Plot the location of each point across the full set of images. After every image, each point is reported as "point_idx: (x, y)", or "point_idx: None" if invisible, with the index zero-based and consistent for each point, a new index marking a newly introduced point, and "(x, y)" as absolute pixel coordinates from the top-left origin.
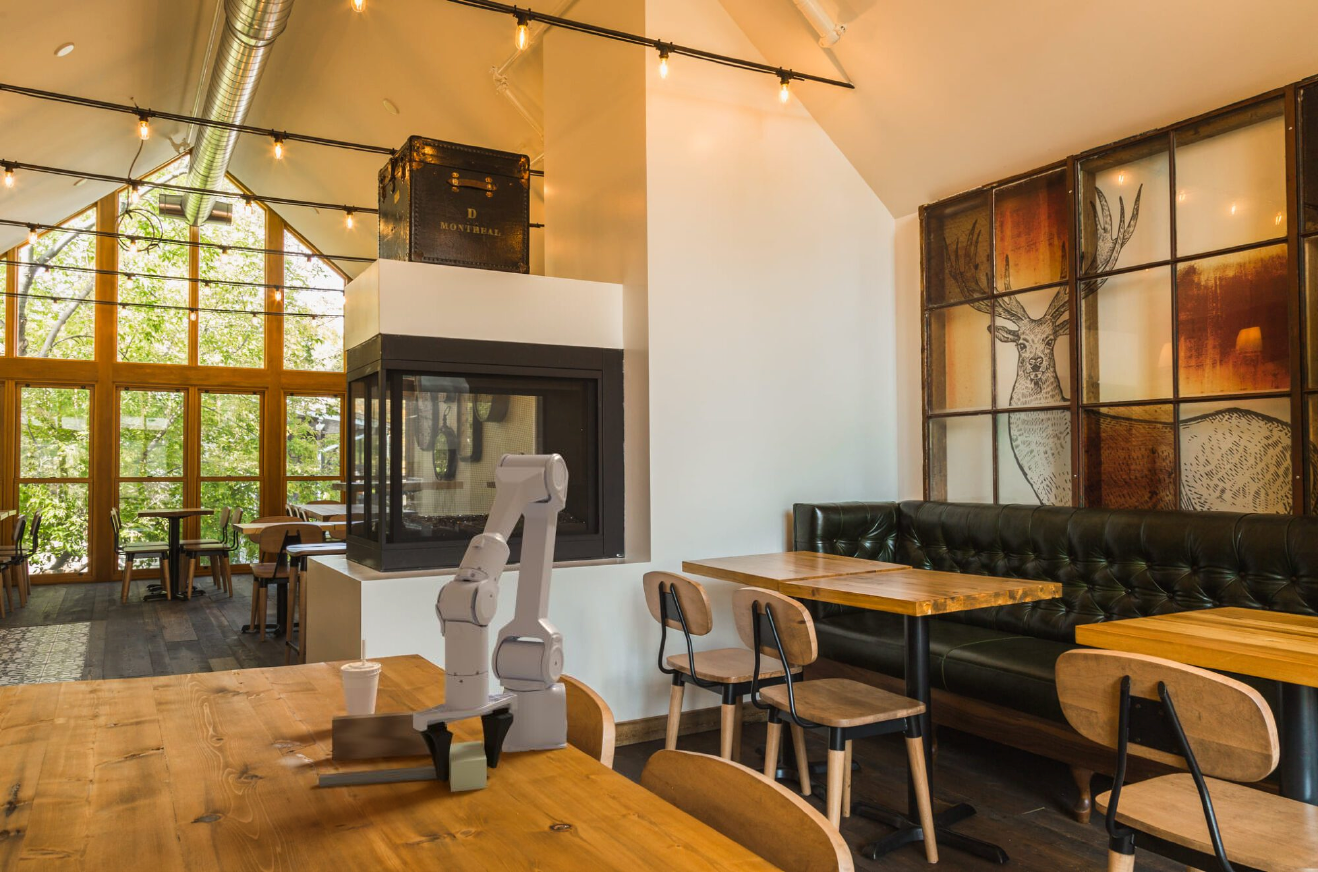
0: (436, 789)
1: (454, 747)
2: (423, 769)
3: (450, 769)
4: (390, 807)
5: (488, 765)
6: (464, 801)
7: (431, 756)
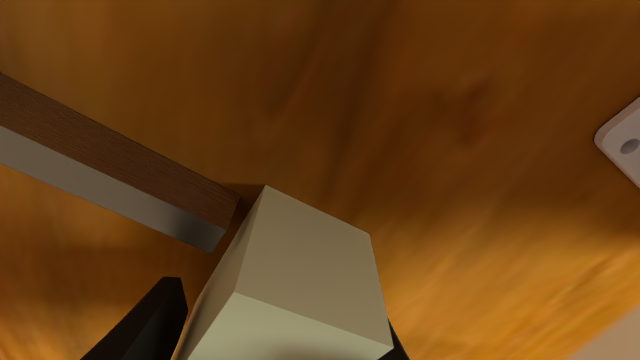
0: (177, 247)
1: (233, 339)
2: (123, 214)
3: (184, 342)
4: (12, 261)
5: None
6: None
7: (90, 350)
